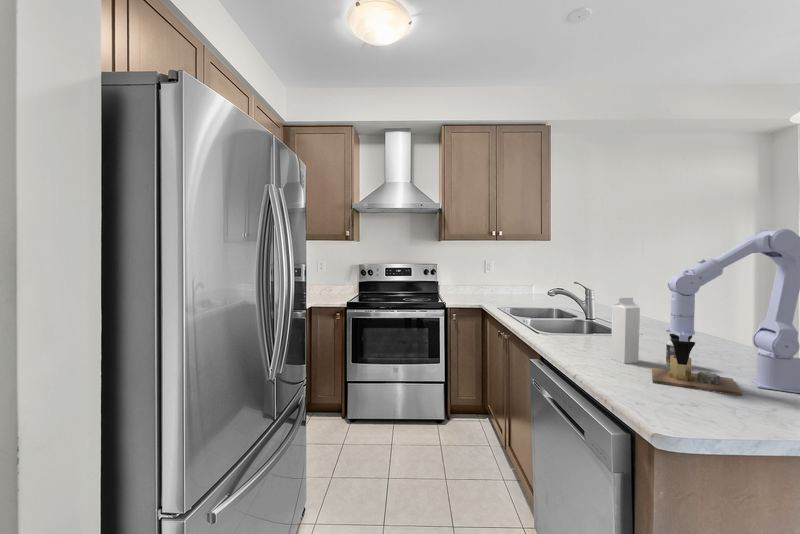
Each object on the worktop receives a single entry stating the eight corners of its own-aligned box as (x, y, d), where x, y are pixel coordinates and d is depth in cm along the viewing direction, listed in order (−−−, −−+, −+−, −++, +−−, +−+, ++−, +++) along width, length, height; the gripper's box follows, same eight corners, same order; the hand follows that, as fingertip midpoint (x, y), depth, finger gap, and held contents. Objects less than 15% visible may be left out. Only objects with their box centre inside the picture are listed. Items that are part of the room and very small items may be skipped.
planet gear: (691, 376, 120) (692, 356, 120) (694, 382, 115) (694, 361, 115) (666, 372, 123) (667, 353, 123) (667, 378, 118) (668, 358, 118)
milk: (638, 362, 138) (641, 298, 137) (624, 363, 136) (626, 298, 135) (624, 357, 144) (626, 296, 142) (610, 359, 142) (612, 296, 141)
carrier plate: (732, 381, 118) (732, 368, 118) (741, 395, 107) (742, 381, 106) (651, 370, 129) (652, 358, 129) (652, 382, 117) (652, 369, 117)
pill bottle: (666, 361, 139) (667, 333, 138) (687, 364, 135) (688, 335, 135) (664, 365, 134) (665, 336, 134) (685, 368, 131) (686, 338, 130)
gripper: (665, 311, 127) (663, 353, 127) (667, 317, 114) (665, 365, 115) (692, 312, 123) (691, 356, 124) (698, 320, 111) (696, 369, 111)
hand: (681, 361), depth 119 cm, fingers open, 7 cm apart
